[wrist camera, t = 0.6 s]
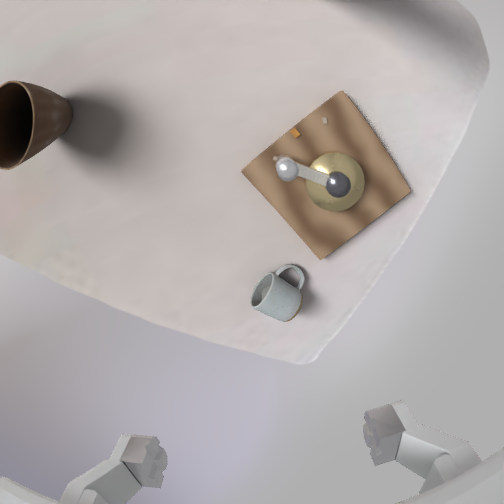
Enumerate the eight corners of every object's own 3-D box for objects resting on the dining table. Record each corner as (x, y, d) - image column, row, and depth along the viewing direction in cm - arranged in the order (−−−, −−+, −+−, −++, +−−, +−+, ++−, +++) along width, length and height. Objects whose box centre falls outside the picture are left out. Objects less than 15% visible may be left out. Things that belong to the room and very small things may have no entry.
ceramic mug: (281, 308, 63) (284, 332, 56) (250, 291, 61) (248, 314, 54) (312, 273, 59) (319, 295, 52) (280, 253, 57) (283, 273, 50)
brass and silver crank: (285, 130, 44) (290, 133, 37) (369, 165, 46) (387, 175, 39) (265, 186, 48) (265, 199, 41) (347, 215, 50) (360, 233, 43)
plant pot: (30, 98, 41) (-23, 106, 27) (80, 68, 40) (26, 64, 25) (43, 160, 48) (-8, 181, 34) (94, 136, 46) (42, 151, 32)
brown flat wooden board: (339, 91, 42) (343, 90, 40) (406, 188, 49) (411, 191, 47) (241, 169, 49) (241, 172, 47) (318, 255, 56) (320, 261, 54)
